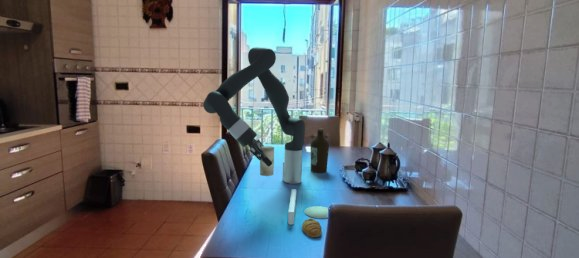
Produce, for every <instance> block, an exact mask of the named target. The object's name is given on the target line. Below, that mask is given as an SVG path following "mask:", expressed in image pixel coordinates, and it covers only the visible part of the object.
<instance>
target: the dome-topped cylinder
mask: <svg viewBox="0 0 579 258" xmlns="http://www.w3.org/2000/svg"><path fill="white" fill-rule="evenodd" d="M261 148H262V150H263V153H264V154H265V155H266V156H267V157H268V158H269V160H270V161H271V162H272V164H271V165H270V166H269V167H268V166H267V165H266V164H265V163H264V162H263V161H262V160H259V175H260V176H263V177H271V176H274V171H275V170H274V169H275V165H274V164H275V162H274V161H275V147H274V146H270V145H269V146H268V145H264V146H263V147H261ZM260 156H261V155H260Z"/></svg>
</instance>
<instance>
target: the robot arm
mask: <svg viewBox="0 0 579 258" xmlns="http://www.w3.org/2000/svg"><path fill="white" fill-rule="evenodd" d="M276 58H277V57H276V53H275V50H273V49H272V48H270V47H260V46H259V47H257V46H256V47H255V46H254V47H252V48H250V50H249V51H248V53H247V61H248V62H249V63H248V64H249V65H247V66H246V67H244V68H242V69H240V70H238V71H236V72H234V73H233V74H230V76H228V77H227V78H226V79H225V80H224V81H223V82H221V84H220V85H219V86H218V88H217V89H216V90H213V91H210V92H208V94H207V95H206V97H205V98H204V101H203V103H202V105H203V109H204V111H205V112H207V113H208V114H217V116H218V117H219V122H220V123H221V125H222V126H223V127H224V128H225V129H226V130H227V131H228V132H229V133H230V135H231V136H232V137H233V138H234V139H235V140H236V142H238V143H239V144H240V146H242V147H243V148H246V147H247V146H248V148H249V152H250V153H251V154H252V155H253V156H254V157H255V158H256V159H257V160H259V161H260V160H262V161H263V162H264V163H265V164H266V165H267V166H268V167H269V166H270V165H271V164H272V162H271V161H270V160H269V158H268V157H267V156H266V155H265V154H264V153H263V150H262V148H261V147H263V146H265V145H264V144H263V143H262V141H261V140H260V139H255V138H256V137H257V136H258V134H257V133H256V131H254V129H253V128H252V127H251V126H250V125H249V124H248V123H247V122H246V121H244V119H243V118H241V117H240V115H239V114H237V112H235V110H234V109H233V107H232V105H231V104H230V103H229V101H230V100H231V99H232V98H233V97H234V96H236V95H237V94H238V93H239V92H240V91H241V90H242V89H243V88H244V87H245V86H247V85H248V84H249V83H251V82H252V81H253V80H254V79H256V78H258V79H259V82H260V83H261V85H262V88H263V89H264V91H265V93H266V95H267V98H268V100H269V102H270V104H271V106H272V108H273V110H274V113H275V115H276V116H277V120H278V122H279V125H280V127H281V130H282V133H283V134H285V135H286V136H291V137H292V140H291V141H288V142H285V144H284V158H283V159H284V161H283V163H282V181H283V182H284V183H286V184H291V185H293V184H295V185H296V184H300V183H301V182H302V172H303V152H304V151H303V149H304V148H303V147H304V143H305V134H306V124H305V121H304V119H302V118H299V117H298V118H297V117H296V118H295V117H291V116H290V113H289V112H288V106H289V101H290V95H289V93H288V91H287V89H286V87H285V85H284V84H283V83H282V81H281V80H280V79H279V78H277V76H276V75H275V74H274V73H273V72H272V71H271V69H272V67H273V66H274V65H275V63H276V61H277V60H276ZM260 155H261V156H260Z"/></svg>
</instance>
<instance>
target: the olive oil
mask: <svg viewBox="0 0 579 258" xmlns="http://www.w3.org/2000/svg"><path fill="white" fill-rule="evenodd" d="M329 151H330V143H329V141H328V139H327V138H326V137H325V135H324V128H322V127H318V128H317V133H316V136H315V137H314V138H313V139H312V140H311V142H310V171H311V172H312V173H316V174H323V173H326V172H327V171H328V160H329V159H328V158H329Z"/></svg>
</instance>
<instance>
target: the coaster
mask: <svg viewBox="0 0 579 258" xmlns="http://www.w3.org/2000/svg"><path fill="white" fill-rule="evenodd" d="M328 208H329V207H326V206H321V205H319V206H318V205H317V206H314V205H313V206H309V207H307V208H305V209H304V214H305V215H306V216H308V217H310V218H312V219H321V220H322V219H328V218H327V214H328Z"/></svg>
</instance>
